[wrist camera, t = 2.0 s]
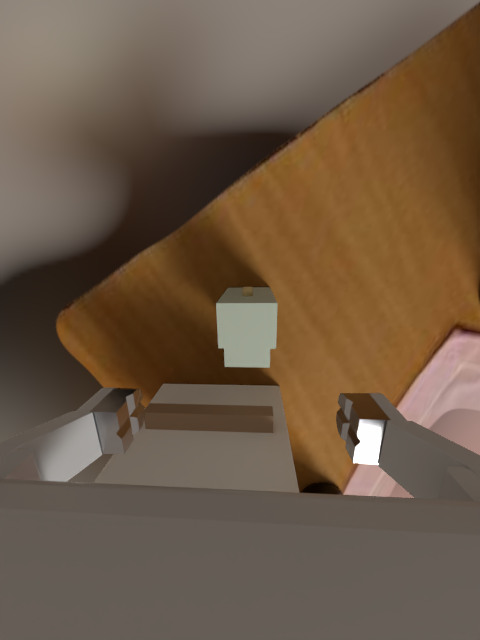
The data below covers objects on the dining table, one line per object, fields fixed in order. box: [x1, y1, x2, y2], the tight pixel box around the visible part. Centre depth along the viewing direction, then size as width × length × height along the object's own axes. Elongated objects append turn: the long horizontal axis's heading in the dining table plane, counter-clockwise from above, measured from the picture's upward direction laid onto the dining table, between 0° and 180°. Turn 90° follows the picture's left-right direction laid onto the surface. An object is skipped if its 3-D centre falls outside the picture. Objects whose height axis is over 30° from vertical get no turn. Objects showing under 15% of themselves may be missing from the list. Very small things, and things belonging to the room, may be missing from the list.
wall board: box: [94, 384, 299, 493], centre depth 24 cm, size 16×8×16 cm, turn 91°
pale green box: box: [216, 287, 277, 368], centre depth 24 cm, size 5×7×9 cm
